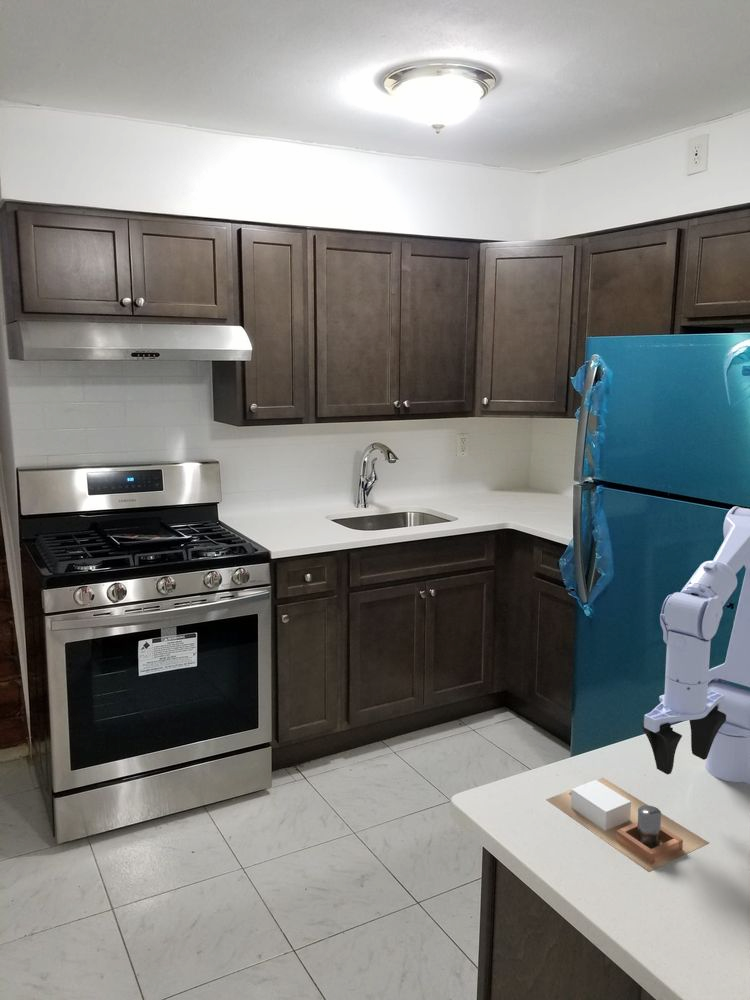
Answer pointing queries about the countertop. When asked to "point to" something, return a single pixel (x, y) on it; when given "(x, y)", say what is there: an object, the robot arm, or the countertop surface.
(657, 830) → the grey metal cylinder
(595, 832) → the board
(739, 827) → the countertop surface
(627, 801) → the plain white cuboid
